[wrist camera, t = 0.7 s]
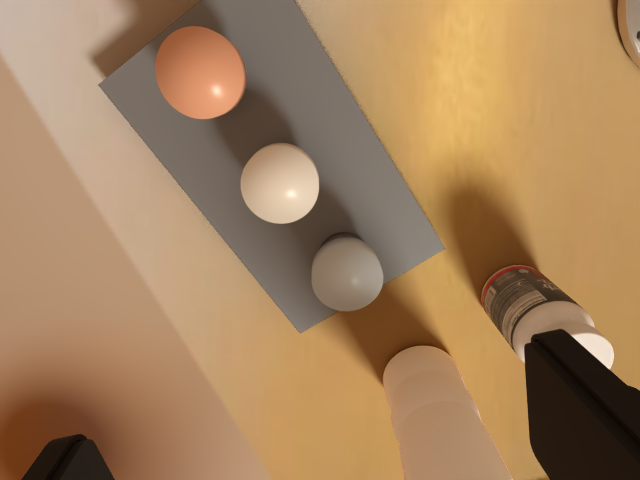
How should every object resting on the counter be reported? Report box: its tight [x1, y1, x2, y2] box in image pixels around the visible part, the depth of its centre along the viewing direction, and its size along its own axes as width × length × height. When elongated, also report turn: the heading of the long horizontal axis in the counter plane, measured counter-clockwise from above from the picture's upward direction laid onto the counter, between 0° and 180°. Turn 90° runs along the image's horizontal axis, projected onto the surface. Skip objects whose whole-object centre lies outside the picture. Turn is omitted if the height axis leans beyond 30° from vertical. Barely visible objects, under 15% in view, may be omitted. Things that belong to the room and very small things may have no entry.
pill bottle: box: [481, 265, 614, 369], centre depth 32 cm, size 6×6×10 cm
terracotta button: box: [155, 26, 247, 119], centre depth 25 cm, size 5×5×2 cm
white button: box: [241, 143, 319, 224], centre depth 27 cm, size 5×5×2 cm
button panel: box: [99, 0, 445, 334], centre depth 31 cm, size 14×24×3 cm, turn 34°
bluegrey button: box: [312, 237, 383, 311], centre depth 30 cm, size 5×5×2 cm
